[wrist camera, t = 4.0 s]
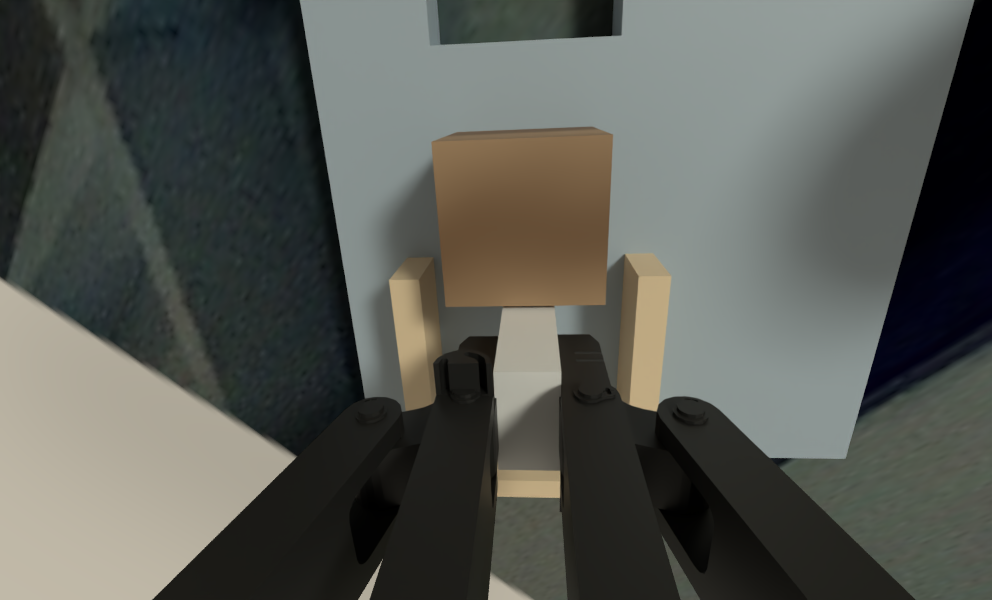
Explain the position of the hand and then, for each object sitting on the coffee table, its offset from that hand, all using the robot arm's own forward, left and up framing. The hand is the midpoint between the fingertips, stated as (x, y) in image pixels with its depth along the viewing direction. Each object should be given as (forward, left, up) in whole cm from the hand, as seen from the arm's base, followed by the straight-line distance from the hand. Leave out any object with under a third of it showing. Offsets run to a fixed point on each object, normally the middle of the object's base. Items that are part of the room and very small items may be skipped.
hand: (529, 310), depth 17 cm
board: (-5, +3, -3) cm, 7 cm away
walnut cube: (-4, 0, -1) cm, 4 cm away
